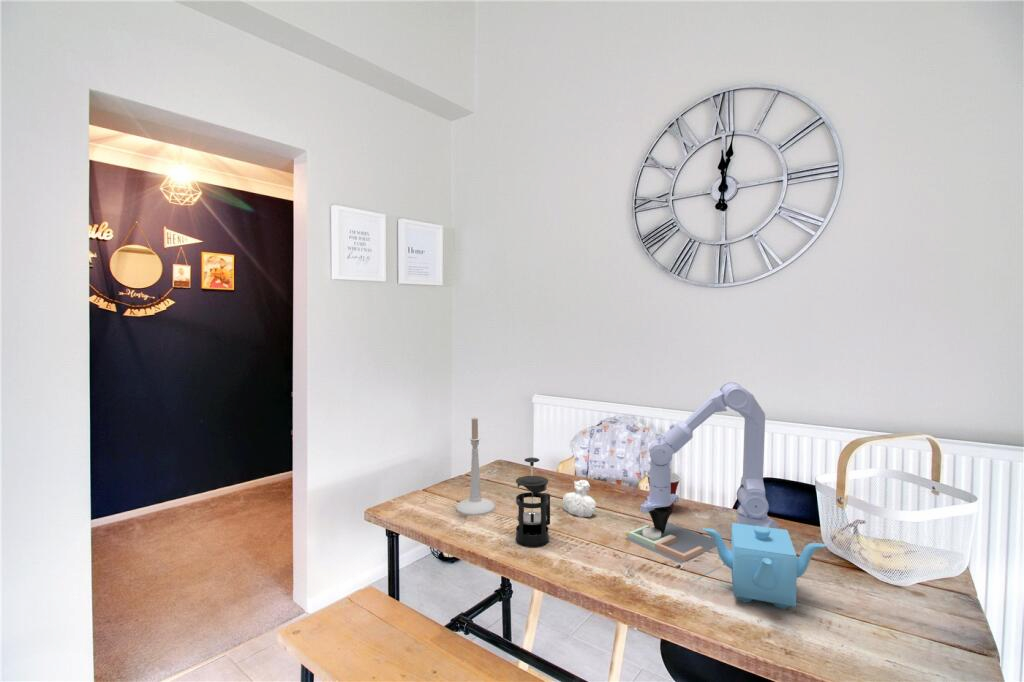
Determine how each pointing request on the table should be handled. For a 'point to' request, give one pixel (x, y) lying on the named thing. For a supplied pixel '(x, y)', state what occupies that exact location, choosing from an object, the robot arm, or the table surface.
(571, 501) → the white sheep figurine
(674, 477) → the plastic cup
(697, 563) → the table surface
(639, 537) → the mint green c bracket
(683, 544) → the mat
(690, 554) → the pink u-shaped rail
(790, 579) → the teakettle
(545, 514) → the french press
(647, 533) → the white dome
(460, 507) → the candlestick
